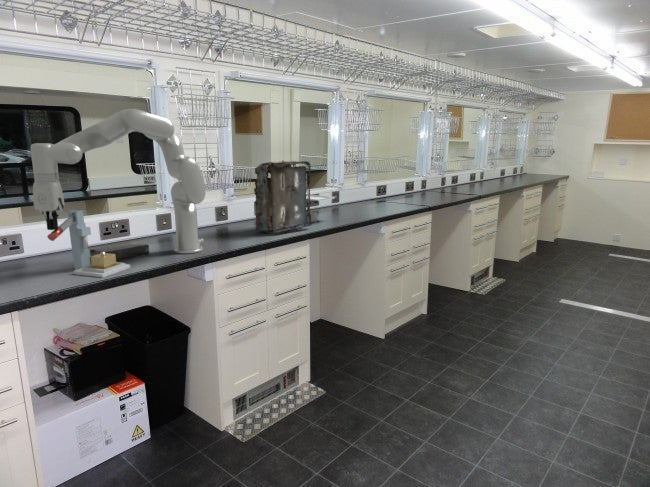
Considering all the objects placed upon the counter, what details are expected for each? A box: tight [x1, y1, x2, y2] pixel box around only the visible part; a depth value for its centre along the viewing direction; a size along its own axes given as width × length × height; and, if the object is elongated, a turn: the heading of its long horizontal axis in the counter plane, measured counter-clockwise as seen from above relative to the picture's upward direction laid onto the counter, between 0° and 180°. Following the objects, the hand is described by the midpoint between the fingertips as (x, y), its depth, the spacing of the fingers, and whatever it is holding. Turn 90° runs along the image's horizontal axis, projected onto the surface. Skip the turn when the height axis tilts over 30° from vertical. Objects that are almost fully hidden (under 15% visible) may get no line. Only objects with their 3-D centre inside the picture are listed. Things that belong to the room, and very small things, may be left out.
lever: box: [47, 213, 76, 242], centre depth 169 cm, size 15×3×3 cm, turn 161°
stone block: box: [89, 242, 150, 262], centre depth 197 cm, size 14×20×5 cm
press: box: [67, 209, 131, 278], centre depth 173 cm, size 14×19×23 cm
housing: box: [90, 252, 117, 270], centre depth 174 cm, size 6×6×6 cm
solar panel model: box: [306, 193, 336, 223], centre depth 279 cm, size 28×17×15 cm, turn 53°
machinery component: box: [253, 160, 312, 234], centre depth 245 cm, size 33×18×38 cm, turn 133°
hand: (52, 229), depth 165 cm, fingers closed
